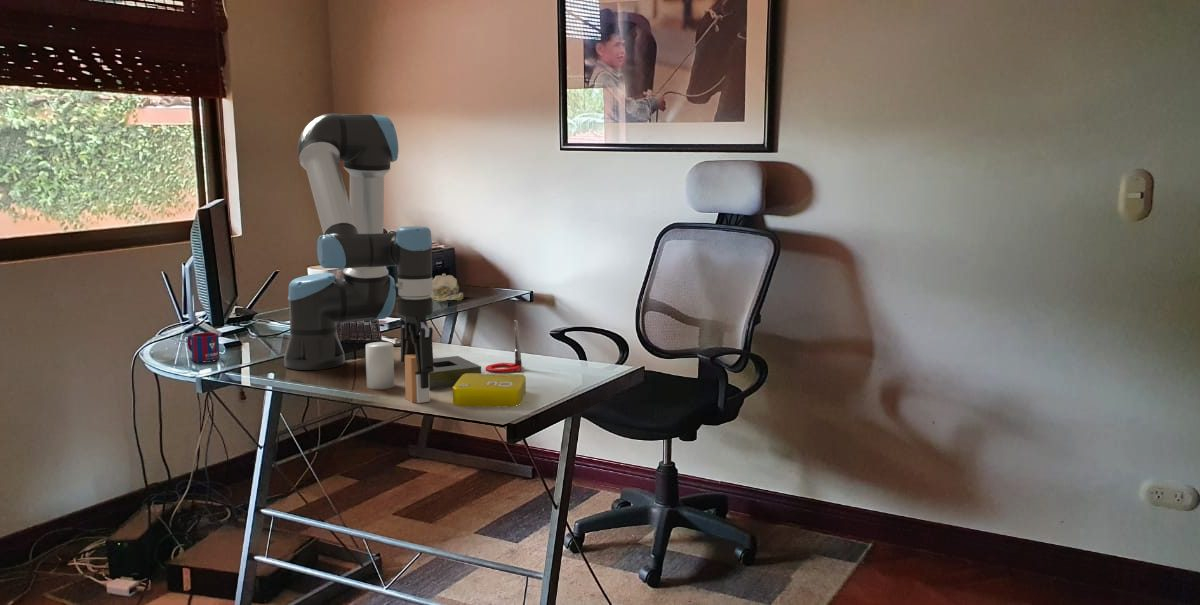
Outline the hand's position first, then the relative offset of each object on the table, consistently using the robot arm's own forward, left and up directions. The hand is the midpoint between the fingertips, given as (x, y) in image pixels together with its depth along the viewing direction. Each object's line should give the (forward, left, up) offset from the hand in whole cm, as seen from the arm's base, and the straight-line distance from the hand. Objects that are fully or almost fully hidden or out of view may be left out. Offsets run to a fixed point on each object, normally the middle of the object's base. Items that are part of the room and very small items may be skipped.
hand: (417, 398), depth 208 cm
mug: (-68, -34, -1) cm, 76 cm away
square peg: (0, 0, 0) cm, 0 cm away
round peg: (-16, -3, 0) cm, 16 cm away
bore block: (-14, +12, 0) cm, 19 cm away
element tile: (+7, +15, -1) cm, 16 cm away
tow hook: (-17, +30, -1) cm, 35 cm away
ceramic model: (-136, +64, -1) cm, 150 cm away
